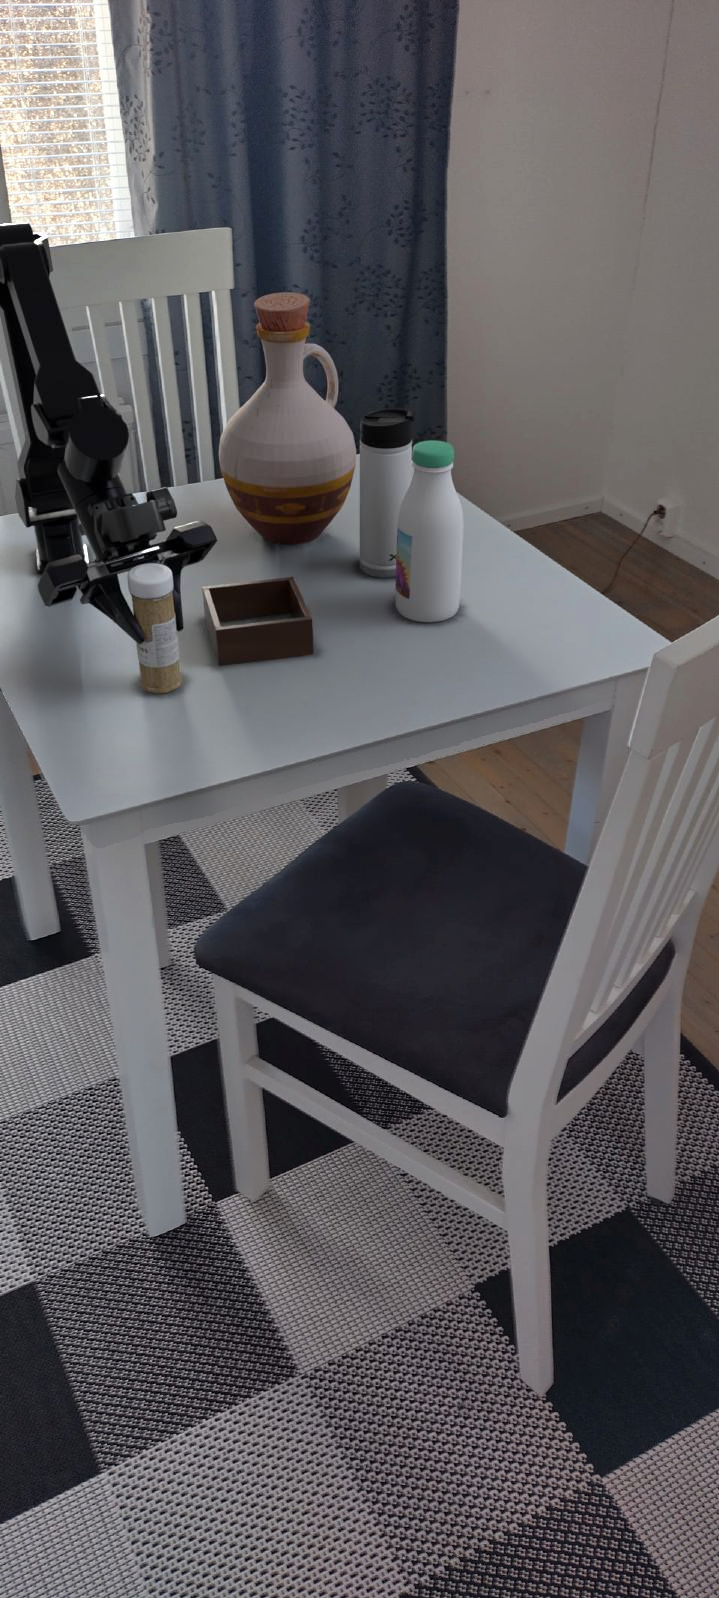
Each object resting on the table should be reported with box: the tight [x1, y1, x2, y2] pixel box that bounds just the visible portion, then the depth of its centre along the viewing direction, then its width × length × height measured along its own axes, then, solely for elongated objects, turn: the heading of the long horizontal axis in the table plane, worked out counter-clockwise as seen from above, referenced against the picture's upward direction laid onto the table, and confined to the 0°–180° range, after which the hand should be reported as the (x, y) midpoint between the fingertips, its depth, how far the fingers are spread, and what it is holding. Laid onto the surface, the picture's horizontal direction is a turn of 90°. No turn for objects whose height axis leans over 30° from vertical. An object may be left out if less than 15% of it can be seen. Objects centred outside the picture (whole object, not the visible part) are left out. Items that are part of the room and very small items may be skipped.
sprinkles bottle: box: [126, 563, 183, 694], centre depth 124 cm, size 5×5×13 cm
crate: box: [201, 576, 314, 667], centre depth 135 cm, size 11×11×4 cm
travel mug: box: [359, 408, 417, 579], centre depth 145 cm, size 6×7×20 cm
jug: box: [218, 291, 357, 546], centre depth 151 cm, size 20×18×30 cm
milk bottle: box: [394, 440, 464, 623], centre depth 136 cm, size 8×8×20 cm
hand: (161, 636), depth 123 cm, fingers closed on sprinkles bottle, 4 cm apart
